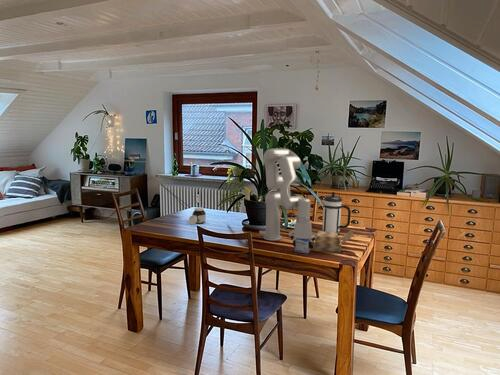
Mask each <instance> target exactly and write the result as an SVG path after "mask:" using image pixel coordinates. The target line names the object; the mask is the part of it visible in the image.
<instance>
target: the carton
mask: <svg viewBox="0 0 500 375" xmlns="http://www.w3.org/2000/svg"><path fill="white" fill-rule="evenodd" d="M338 233H339V232H338ZM338 233H337V232H324V231H323V230H317V237H316V239H315V240H314V241H313V242H312V251H317V252H319V251H320V252H329V253H339V254H342V245H343V243H342V237H339V236H338ZM313 237H314V235H311V238H313Z"/></svg>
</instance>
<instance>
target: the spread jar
mask: <svg viewBox="0 0 500 375" xmlns="http://www.w3.org/2000/svg"><path fill="white" fill-rule="evenodd" d="M206 216H207V213H206V211H205V208H204V207H201V206H198V207H197V206H196V207H194V211H193V212H192V215H190V216H189V218H188V223H189V225H192V226H193V225H195V224H196V225H203V224H204V223H205V222H206V218H207V217H206Z"/></svg>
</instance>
